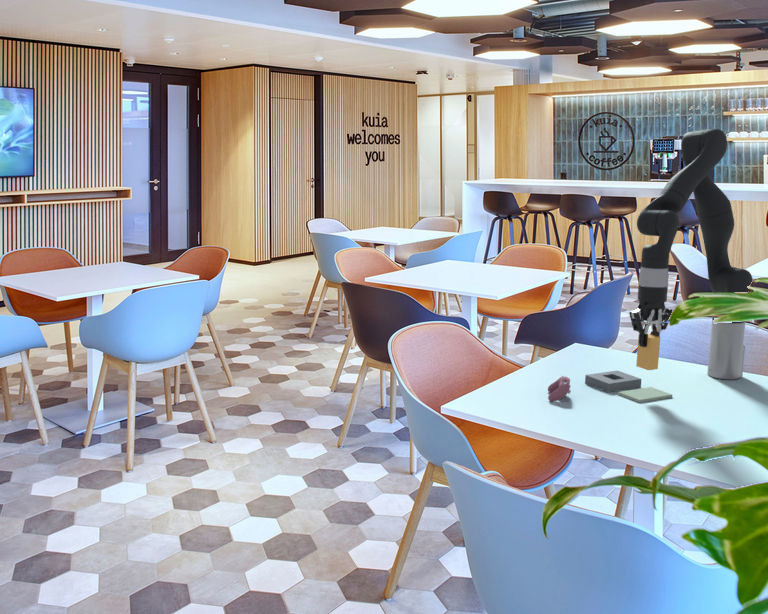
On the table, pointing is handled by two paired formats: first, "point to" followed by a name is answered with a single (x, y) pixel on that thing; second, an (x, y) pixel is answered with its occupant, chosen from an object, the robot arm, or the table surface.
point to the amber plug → (649, 353)
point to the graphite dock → (613, 381)
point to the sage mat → (645, 394)
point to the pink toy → (559, 389)
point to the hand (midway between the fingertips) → (648, 345)
